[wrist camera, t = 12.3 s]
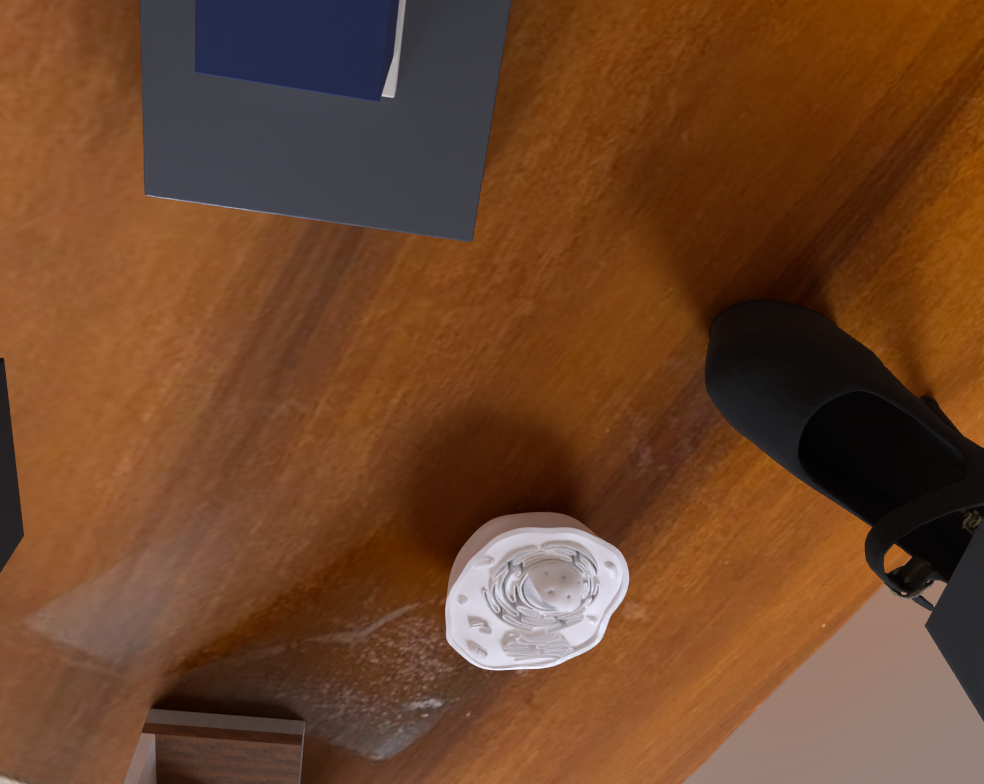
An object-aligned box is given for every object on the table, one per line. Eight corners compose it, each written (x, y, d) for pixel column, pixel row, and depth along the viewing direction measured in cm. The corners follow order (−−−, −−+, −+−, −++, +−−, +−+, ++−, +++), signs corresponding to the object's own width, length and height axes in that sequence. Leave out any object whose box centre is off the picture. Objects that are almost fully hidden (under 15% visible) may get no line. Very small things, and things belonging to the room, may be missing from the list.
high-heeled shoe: (705, 251, 48) (847, 474, 31) (999, 364, 52) (1272, 616, 35) (637, 375, 51) (730, 637, 34) (918, 472, 56) (1127, 749, 38)
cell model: (404, 569, 58) (399, 649, 52) (529, 445, 53) (539, 517, 48) (525, 641, 61) (532, 723, 56) (652, 530, 57) (674, 607, 51)
